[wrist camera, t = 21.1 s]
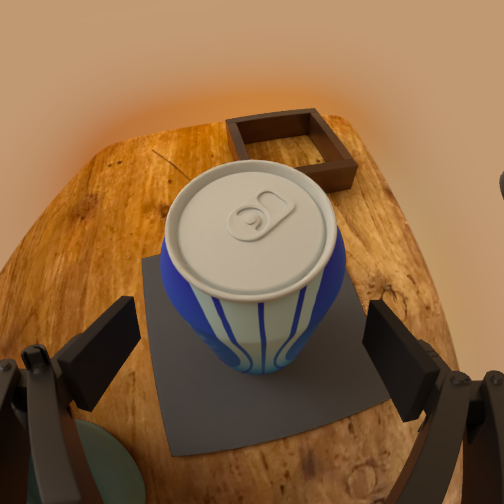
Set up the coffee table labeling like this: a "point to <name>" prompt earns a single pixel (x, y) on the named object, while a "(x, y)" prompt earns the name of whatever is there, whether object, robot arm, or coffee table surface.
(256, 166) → the beer can
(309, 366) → the rubber mat
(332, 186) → the can holder
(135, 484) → the flower pot
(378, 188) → the coffee table surface
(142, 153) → the coffee table surface
